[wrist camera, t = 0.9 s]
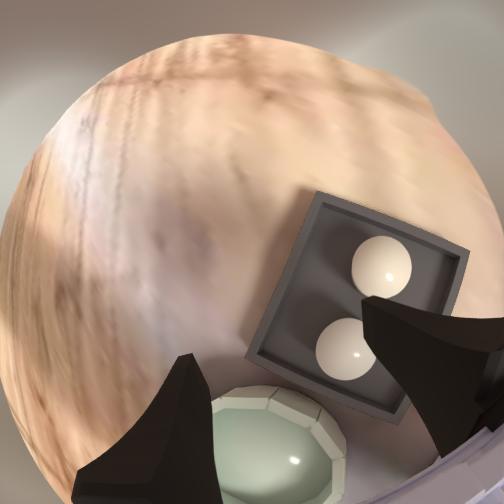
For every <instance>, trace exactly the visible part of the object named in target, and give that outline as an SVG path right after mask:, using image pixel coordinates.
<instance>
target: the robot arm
mask: <svg viewBox="0 0 504 504" xmlns="http://www.w3.org/2000/svg"><path fill="white" fill-rule="evenodd" d="M361 307H362V321H363V338H364V340H365V341H366V343H367V345H368V346H369V348H370V349H371V351H372V352H373V354H374V355H375V357H376V358H377V359H378V360H379V361H380V363H381V364H382V365H383V366H384V367H385V368H386V370H387V371H388V372H389V373H390V374H391V375H392V377H393V378H394V379H395V380H396V381H397V382H398V384H399V385H400V386H401V387H402V388H403V390H404V391H405V392H406V394H407V395H408V397H409V398H410V400H411V402H412V403H413V405H414V406H415V408H416V409H417V411H418V413H419V415H420V416H421V418H422V420H423V422H424V423H425V425H426V427H427V429H428V431H429V433H430V435H431V437H432V439H433V441H434V443H435V445H436V448H437V450H438V452H439V454H440V455H439V456H438V458H437V459H436V461H435V462H434V463H433V465H431V466H430V467H428V468H427V469H425V470H423V471H422V472H420V473H418V474H416V475H415V476H413V477H411V478H409V479H408V480H406V481H404V482H402V483H400V484H398V485H396V486H394V487H393V488H391V489H389V490H386V491H384V492H382V493H380V494H378V495H376V496H374V497H372V498H369V499H367V500H365V501H362V502H360V503H358V504H504V317H503V318H484V319H478V318H461V317H453V316H447V315H441V314H436V313H432V312H428V311H424V310H420V309H416V308H413V307H410V306H407V305H404V304H400V303H397V302H394V301H391V300H388V299H385V298H382V297H379V296H375V295H372V296H370V297H367V298H365V299H362V300H361ZM71 501H72V503H73V504H223V500H222V495H221V491H220V486H219V481H218V476H217V471H216V465H215V458H214V442H213V412H212V403H211V396H210V391H209V387H208V385H207V383H206V381H205V379H204V377H203V375H202V372H201V370H200V368H199V366H198V364H197V362H196V360H195V358H194V355H193V353H191V354H186V355H182V356H178V358H177V360H176V361H175V363H174V365H173V367H172V369H171V370H170V372H169V374H168V376H167V378H166V380H165V381H164V383H163V385H162V386H161V388H160V390H159V392H158V393H157V395H156V396H155V398H154V399H153V401H152V402H151V404H150V405H149V407H148V408H147V410H146V411H145V412H144V414H143V415H142V416H141V417H140V419H139V420H138V421H137V422H136V423H135V425H134V426H133V427H132V428H131V429H130V430H129V431H128V432H127V433H126V434H125V435H124V436H123V437H122V438H121V439H120V440H119V441H118V442H117V443H116V444H114V445H113V446H112V447H111V448H110V449H109V450H107V451H106V452H105V453H103V454H102V455H101V456H100V457H98V458H97V459H95V460H94V461H92V462H91V463H89V464H87V465H86V466H84V467H83V468H81V469H79V470H78V471H77V475H76V479H75V483H74V487H73V491H72V496H71Z"/></svg>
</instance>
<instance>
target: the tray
mask: <svg viewBox="0 0 504 504" xmlns="http://www.w3.org/2000/svg"><path fill="white" fill-rule="evenodd" d="M376 236H387V237H391V238H393V239H395V240H397V241H399V242H400V243H401V244H402V245H403V246H404V247H405V248H406V250H407V252H408V253H409V256H410V259H411V265H412V270H411V276H410V279H409V281H408V283H407V285H406V286H405V287H404V289H403V290H402V291H401V292H399V293H398V294H396V295H394V296H392V297H389V298H386V299H388V300H391V301H394V302H397V303H400V304H404V305H407V306H410V307H413V308H416V309H420V310H424V311H428V312H432V313H436V314H441V315H447V316H451V313H452V311H453V308H454V305H455V302H456V299H457V296H458V293H459V290H460V286H461V283H462V280H463V276H464V273H465V269H466V266H467V262H468V258H469V254H470V251H469V250H467V249H465V248H463V247H461V246H459V245H456V244H454V243H452V242H450V241H448V240H445V239H443V238H441V237H438V236H436V235H434V234H431V233H429V232H427V231H424V230H422V229H420V228H417V227H415V226H412V225H410V224H407V223H405V222H402V221H400V220H397V219H395V218H392V217H390V216H387V215H385V214H382V213H379V212H377V211H374V210H371V209H369V208H366V207H363V206H360V205H358V204H355V203H352V202H349V201H346V200H344V199H341V198H338V197H335V196H332V195H329V194H326V193H323V192H320V191H317V192H316V194H315V197H314V199H313V202H312V204H311V207H310V209H309V212H308V214H307V216H306V219H305V221H304V224H303V226H302V229H301V231H300V233H299V236H298V238H297V241H296V243H295V245H294V248H293V250H292V252H291V255H290V257H289V259H288V262H287V264H286V266H285V269H284V271H283V273H282V276H281V278H280V280H279V283H278V285H277V287H276V289H275V292H274V294H273V296H272V298H271V301H270V303H269V305H268V307H267V310H266V312H265V314H264V316H263V319H262V321H261V323H260V325H259V327H258V330H257V332H256V334H255V336H254V338H253V340H252V343H251V345H250V347H249V349H248V351H247V353H246V355H245V358H246V359H248V360H250V361H251V362H253V363H255V364H257V365H259V366H261V367H263V368H265V369H267V370H269V371H271V372H273V373H275V374H277V375H279V376H281V377H283V378H285V379H287V380H289V381H291V382H293V383H296V384H298V385H300V386H302V387H304V388H306V389H308V390H311V391H313V392H315V393H317V394H320V395H322V396H324V397H326V398H329V399H331V400H333V401H336V402H338V403H340V404H343V405H345V406H348V407H350V408H353V409H355V410H358V411H360V412H363V413H365V414H368V415H370V416H373V417H376V418H378V419H381V420H384V421H386V422H389V423H392V424H395V425H398V424H399V422H400V421H401V419H402V417H403V416H404V414H405V412H406V410H407V409H408V407H409V405H410V403H411V400H410V398H409V397H408V395H407V394H406V392H405V391H404V390H403V388H402V387H401V386H400V385H399V384H398V382H397V381H396V380H395V379H394V378H393V377H392V375H391V374H390V373H389V372H388V371H387V370H386V368H385V367H384V366H383V365H382V364H381V363H380V361H379V360H378V359H377V358H376V360H375V362H374V364H373V365H372V367H371V368H370V369H369V370H368V371H367V372H366V373H365V374H364V375H362V376H360V377H358V378H355V379H352V380H339V379H335V378H332V377H331V376H329V375H327V374H326V373H325V372H324V371H323V370H322V369H321V367H320V366H319V364H318V361H317V358H316V345H317V341H318V339H319V337H320V335H321V333H322V332H323V331H324V330H325V328H326V327H328V326H329V325H330V324H331V323H332V322H334V321H336V320H338V319H341V318H345V317H352V318H356V319H359V320H361V321H362V307H361V300H362V299H365V298H366V297H364V296H362V295H361V294H360V293H359V292H358V291H357V290H356V288H355V286H354V284H353V281H352V276H351V271H352V261H353V257H354V254H355V252H356V250H357V249H358V247H359V246H360V245H361V244H362V243H363V242H365V241H366V240H368V239H370V238H372V237H376ZM362 322H363V321H362Z"/></svg>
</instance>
